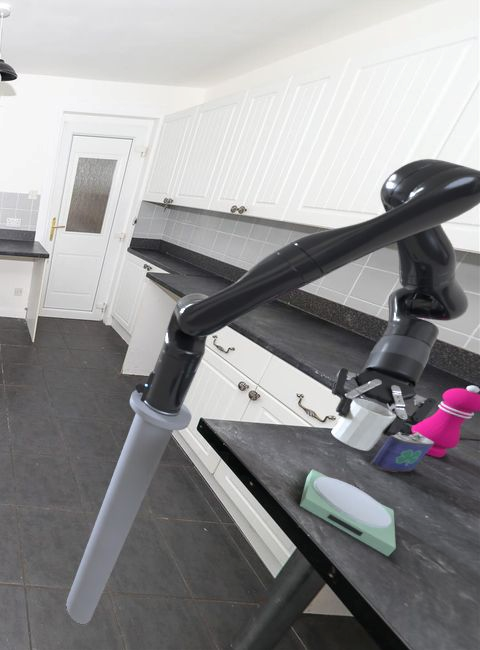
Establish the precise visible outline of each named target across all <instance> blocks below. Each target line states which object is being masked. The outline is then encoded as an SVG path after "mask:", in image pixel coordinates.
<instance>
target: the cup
mask: <svg viewBox="0 0 480 650" xmlns="http://www.w3.org/2000/svg"><path fill="white" fill-rule="evenodd" d="M339 417H340V418H339V419H338V420H337V421H336V423H335V424H334V426H333V427H332V429H331V430H330V431H331V432H330V433H331V435H332V436H333V437H334V438H335V439H337V440H338V441H340V442H341V443H343V444H344V445H347V446H349V447H351V448H354V449H356V450H359V451H365V452H368V451H371V450H372V449H373V448H374V447H375V445H376V444H377V443H378V442H379V440H380V439H381V438H382V436H383V435H384V432H385V431H386V430H387V428H388V427H389V426H390V424H391V423H392V422H393V421H394V419H395V418H396V414H394V413H393V412H392V411H391V410H389V409H388V407H386V406H384V405H381V404H379V403H377V402H375V401H372V400H368V399H366V398H365V399H364V398H359V397H358V398H355V399H353V400H352V403H351V405H350V407H349V409H348V410H347V412H346V414H345V415H344V416H343V417H341V416H339Z"/></svg>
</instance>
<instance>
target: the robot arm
mask: <svg viewBox="0 0 480 650" xmlns="http://www.w3.org/2000/svg"><path fill="white" fill-rule="evenodd" d="M379 193H380V195H379V196H380V201H381V204H382V207H383V209H384V211H385V212H383V213H381V214H380V215H377V216H375V217H372V218H369V219H367V220H364V221H361V222H357V223H354V224H351V225H350V224H349V225H347V226H346V225H345V226H341V227H336V228H331V229H326V230H322V231H316V232H313V233H310V234H306V235H303V236H301V237H298V238H296V239H294V240H292V241H290V242H288V243H286V244H285V245H282V246H281V247H279V248H278V249H276V250H274V251H272V252H271V253H269V254H267V255H266V256H264V257H263V258H261V260H259V261H258V262H256V263H255V264H254V265H253V266H252V267H251V268H250V269H249V270H248V271H246V272H245V273H244V274H243V275H242V276H241V277H240V278H239V279H237V280H236V281H235V282H234V283H231V285H229V286H227V287H226V288H224V289H222V290H220V291H217V292H216V293H214V294H211V295H210V296H208V295H207V294H203V293H197V292H196V293H189V294H186V295H184V296H183V297H181V298H180V299H179V300H177V302H176V304H175V305H174V308H173V310H172V313H171V316H170V319H169V321H168V325H167V327H166V331H165V334H164V340H163V344H162V346H161V350H160V353H159V354H158V358H157V359H156V362H155V365H154V369H153V370H152V371H151V372H150V373H149V375H148V378H146V377H145V378H144V379H142V380H140V382H139V381H138V382H137V383H136V384H135V387H134V388H135V390H137V392H138V393H143V394H142V397H141V399H140V400H141V401H142V402H144V403H145V405H146V406H147V407H148V408H150V409H151V410H153V411H155V412H157V413H159V414H162V415H165V416H177V415H178V414H179V412H180V409H181V407H182V404H184V402H185V399H186V397H187V395H188V393H189V390H190V388H191V386H192V384H193V381H194V379H195V377H196V375H197V373H198V370H199V368H200V366H201V362H202V360H203V358H204V356H205V354H206V353H205V352H206V343H207V338H208V336H212V335H213V334H215V333H218V332H220V331H221V330H222V329H225V327H227V326H229V325H231V324H232V323H234V322H235V321H237V320H239V319H240V318H243V316H245V315H247V314H249V313H251V312H252V311H254V310H256V309H258V308H259V309H260V308H261V307H263V306H265V305H267V304H269V303H272V302H273V301H275V300H276V301H277V299H279V298H281V297H284V296H286V295H288V294H290V293H292V292H294V291H297V290H298V289H299V290H300V288H303V287H305V286H307V285H310V284H311V283H313V282H315V281H317V280H320V279H322V278H323V277H325V276H327V275H329V274H331V273H333V272H335V271H337V270H339V269H341V268H343V267H345V266H347V265H349V264H351V263H354V262H356V261H358V260H360V259H362V258H364V257H366V256H368V255H370V254H373V253H375V252H377V251H380V250H382V249H384V248H385V247H388V246H391V245H394V244H395V245H396V249H397V254H398V272H399V276H398V277H399V283H400V286H401V287H398V288H396V289H394V290H393V291H392V292H391V293H389V296H388V303H387V304H388V320H387V324H386V327H385V329H384V331H383V333H382V334H381V337H380V339H379V340H378V341H377V342H376V343H375V345H374V346H373V348H372V350H371V351H370V353H369V355H368V358H367V359H366V362H365V363H364V365H363V368H362V370H361V371H360V372H358V373H355V372H351V371H349V369H347V368H345V367H342V368H340V369H339V370H338V372H337V373H336V375H335V379H334V381H333V385H332V389H331V394H332V395H333V396H336V397H338V399H340V401H338V404H337V406H336V407H335V412H336V413H338V414H337V416H338V417H343V416H344V415H345V414H346V412H347V410H348V409H349V407H350V405H351V403H352V400H353V399H355V398H359V397H362V396H364V397H365V398H367V399H371V400H375V401H377V402H379V403H382V404H384V405H387V409H389V410H391V411H392V412H393V413H394V414H396V418H395V419H394V421H393V422H392V423H391V424H390V426H389V427H388V428H387V430H386V431H385V432H384V434H383V435H385V436H387V437H389V436H390V435H395V434H400V432H401V430H402V428H403V426H404V424H409V425H411V426H414V425H416V424H418V423H420V422H422V421H423V420H425V419H426V417H427V416H428V415H429V413H430V412H431V411H432V410H433V408H434V407H435V406H436V404H437V403H438V401H437V400H436V399H435V398H431V397H429V398H427V397H423V396H421V395H419V394H417V392H416V386H417V385H418V382H419V380H420V378H421V375H423V372H424V370H425V368H426V365H427V363H428V362H429V359H430V355H431V351H432V349H433V346H434V345H435V342H436V340H437V339H438V336H439V333H440V329H439V327H438V326H437V325H436V324H434V323H433V322H431V321H428V320H433V321H444V322H446V321H448V322H449V321H453V320H457V319H459V318H461V317H462V316H464V315H465V314H466V312H467V311H468V308H469V300H468V296H467V294H466V292H465V291H464V289H463V287H462V286H461V285H460V283H459V282H458V280H457V278H456V272H457V271H456V269H457V254H456V251H455V248H454V246H453V243H452V242H451V240H450V238H449V237H448V235H447V233H446V232H445V230H444V228H443V226H442V224H444V223H447V222H449V221H451V220H453V219H455V218H458V217H460V216H461V215H463V214H465V213H467V212H469V211H471V210H473V209H474V208H476V207H477V206H478V205H480V169H479V170H478V169H476V168H471V167H468V166H464V165H461V164H457V163H454V162H450V161H445V160H443V159H442V160H441V159H436V158H424V159H423V158H422V159H418V160H413V161H411V162H408V163H406V164H404V165H402V166H400V167H399V168H397V169H396V170H395V171H393V172H392V173H390V175H389V176H388V177H387V178H386V179H385V181H384V182H383V184H382V185H381V188H380V192H379ZM351 379H352V380H354V382H355V383H356V385H357V387H355V388H354V389H353V390H350V391H349V392H347V391H345V390H344V388H345V384H346V382H349V381H350V380H351ZM409 400H413V402H414V404H413V405H414V406H415V407H416V409H415V410H414V411H413V413H412V414H410V415H409V414H408V413H407V411H406V404H405V401H409Z"/></svg>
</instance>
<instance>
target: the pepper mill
mask: <svg viewBox="0 0 480 650" xmlns="http://www.w3.org/2000/svg"><path fill="white" fill-rule="evenodd" d="M479 392H480V388H479V386H476V385H468V386H467V387H466V388H460V387H456V388H455V387H454V388H450V389H448V390H446V391H444V392H443V394H442V399H443V401H441V402H440V403H439V404H438V409H437V411H436V412H435V413H434V414H433V415H432V416H430V417H427V418H425V419H424V420H423V421H422V422H420V423H418V424H416V425H412V427H411V432H412V433H411V434H412V435H413V434H416V433H415V432H418V433H419V434H421V435H422V436H424V437H426V438H428V439H429V440H431V441H433V442H434V445H433V446H432V447H431V448H430V449H429V450H428V451H427V453H426V454H425V455H428V456H431V457H434V458H442V457H444V456H445V455H446V453H448V451H447V450H448V449H449V450H450V449H454V448H456V447H457V446H458V444H459V443H460V438H461V426H462V425H463V423H464V422H465V421H466V420H467V419H472V417H473V416H474V415H475V412H480V393H479ZM414 431H415V432H414Z"/></svg>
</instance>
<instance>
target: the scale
mask: <svg viewBox="0 0 480 650" xmlns="http://www.w3.org/2000/svg"><path fill="white" fill-rule="evenodd" d="M299 507H301V508H303V509H305V510H306V511H308V512H310V513H312V514H313V515H315V516H317V517H318V518H320V519H321V520H323V521H325V522H327V523H328V524H331V525H332V526H333V527H336V528H338V529H339V530H341V531H343V532H345V533H346V534H348V535H350V536H351V537H353V538H355V539H357V540H358V541H360V542H362V543H364V544H365V545H367V546H369V547H370V548H372V549H374V550H375V551H377V552H379V553H381V554H382V555H385V556H386V557H389V556H390V555H391V554H392V553H393V552H394V551H395V550H396V549H397V545H396V529H395V528H396V525H395V512H394V509H392V508H390V507H388V506H386V505H384V504H382V503H380V502H378V501H377V500H375V498H374V497H372V496H370V495H369V494H367V493H366V492H364V491H363V490H361V489H360V488H357V487H355V486H353V485H351V484H349V483H347V482H345V481H342V480H341V479H340V480H339V479H336V478H333V477H330V476H327V475H325V474H323V473H321V472H319V471H318V470H315V469H311V470H310V472H309V473H308V475H307V477H306V480H305V484H304V488H303V492H302V495H301V499H300V503H299Z"/></svg>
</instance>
